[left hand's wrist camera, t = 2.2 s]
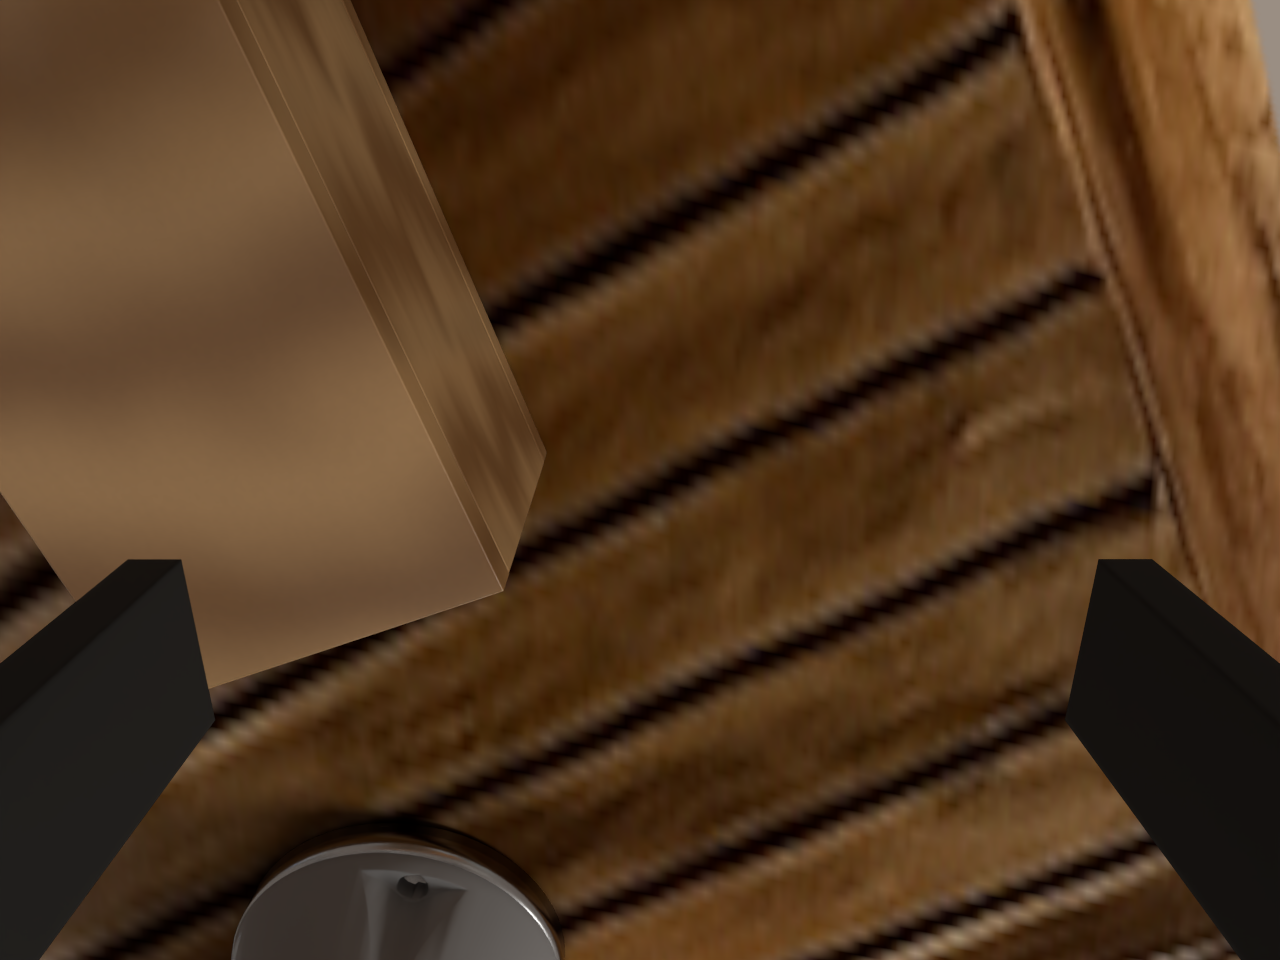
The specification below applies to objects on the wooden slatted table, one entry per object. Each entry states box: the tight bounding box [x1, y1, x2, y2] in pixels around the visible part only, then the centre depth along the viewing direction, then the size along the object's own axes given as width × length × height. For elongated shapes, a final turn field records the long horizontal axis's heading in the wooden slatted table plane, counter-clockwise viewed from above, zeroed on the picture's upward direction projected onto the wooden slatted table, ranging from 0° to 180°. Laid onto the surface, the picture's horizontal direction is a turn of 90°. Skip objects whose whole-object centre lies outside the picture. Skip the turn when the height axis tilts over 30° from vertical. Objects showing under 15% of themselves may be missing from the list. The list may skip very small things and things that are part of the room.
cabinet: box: [0, 0, 546, 689], centre depth 26 cm, size 19×11×11 cm, turn 20°
